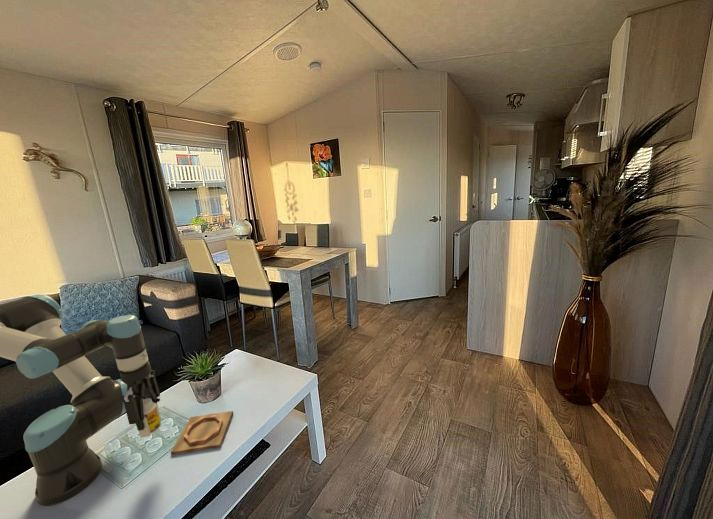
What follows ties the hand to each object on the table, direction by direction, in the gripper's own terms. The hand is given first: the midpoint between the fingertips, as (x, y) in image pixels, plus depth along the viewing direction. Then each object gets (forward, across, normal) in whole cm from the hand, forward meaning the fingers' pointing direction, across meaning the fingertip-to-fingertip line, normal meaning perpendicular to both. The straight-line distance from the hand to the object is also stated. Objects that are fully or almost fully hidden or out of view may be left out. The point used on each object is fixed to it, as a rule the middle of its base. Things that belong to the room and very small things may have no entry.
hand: (151, 428), depth 96 cm
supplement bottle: (+1, 0, 0) cm, 1 cm away
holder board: (+12, +9, -12) cm, 19 cm away
